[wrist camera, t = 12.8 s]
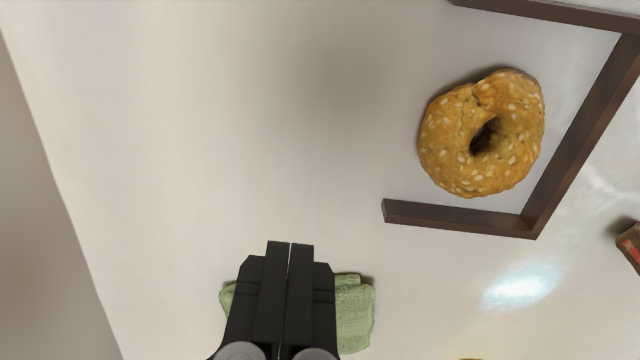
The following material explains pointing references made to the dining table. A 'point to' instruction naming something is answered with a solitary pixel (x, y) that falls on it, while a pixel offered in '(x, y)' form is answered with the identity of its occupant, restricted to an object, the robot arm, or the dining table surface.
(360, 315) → the washcloth
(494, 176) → the bagel
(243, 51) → the dining table surface
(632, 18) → the bay
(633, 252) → the tin
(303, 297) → the robot arm
